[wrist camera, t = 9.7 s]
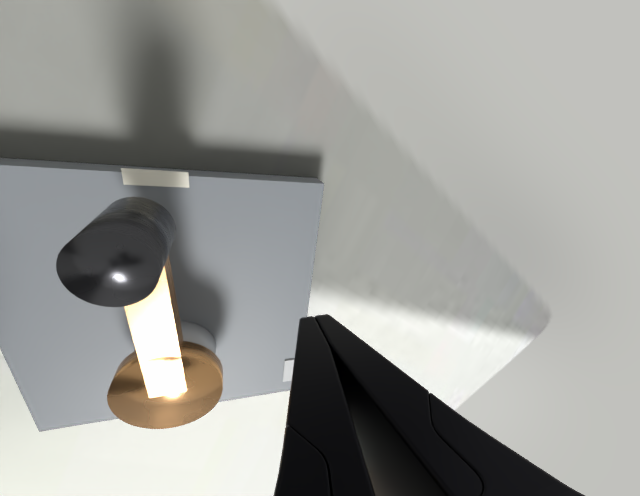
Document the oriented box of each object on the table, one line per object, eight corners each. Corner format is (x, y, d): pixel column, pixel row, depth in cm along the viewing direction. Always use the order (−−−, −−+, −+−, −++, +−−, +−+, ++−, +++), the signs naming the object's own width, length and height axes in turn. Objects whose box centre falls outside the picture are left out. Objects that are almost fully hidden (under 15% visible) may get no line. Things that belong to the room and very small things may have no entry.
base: (50, 411, 21) (21, 463, 18) (-60, 149, 13) (-145, 164, 10) (294, 374, 26) (302, 410, 23) (317, 175, 18) (335, 189, 16)
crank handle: (225, 399, 20) (225, 462, 16) (126, 419, 18) (103, 493, 15) (206, 196, 14) (199, 229, 10) (51, 196, 12) (-21, 235, 8)
